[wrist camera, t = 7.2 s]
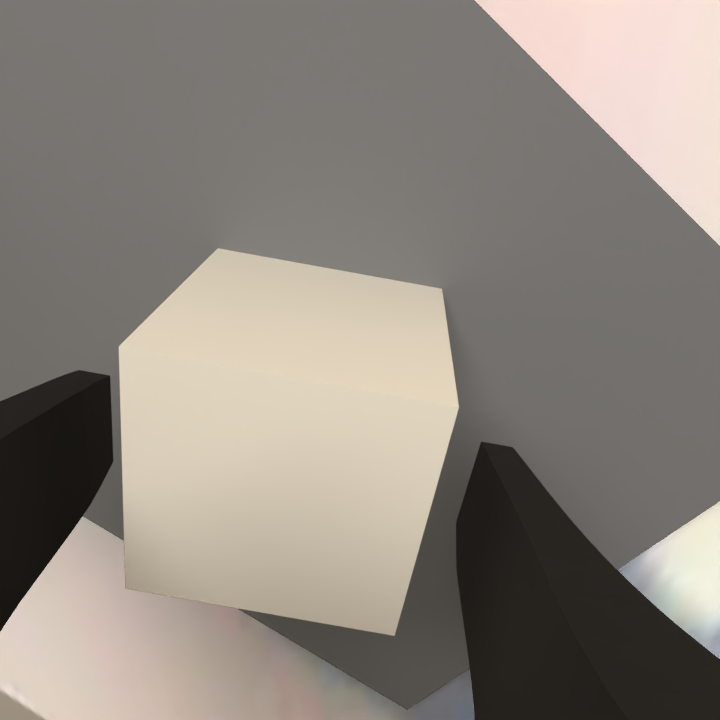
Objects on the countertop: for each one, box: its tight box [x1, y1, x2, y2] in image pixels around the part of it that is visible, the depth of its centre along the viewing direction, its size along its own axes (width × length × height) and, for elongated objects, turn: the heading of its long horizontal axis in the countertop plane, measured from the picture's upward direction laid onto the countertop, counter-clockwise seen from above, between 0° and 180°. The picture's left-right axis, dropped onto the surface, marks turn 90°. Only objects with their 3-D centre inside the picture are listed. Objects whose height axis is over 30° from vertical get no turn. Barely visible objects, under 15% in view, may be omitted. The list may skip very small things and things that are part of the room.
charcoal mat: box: [0, 0, 720, 710], centre depth 15 cm, size 20×16×1 cm
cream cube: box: [119, 248, 459, 636], centre depth 12 cm, size 5×5×5 cm
